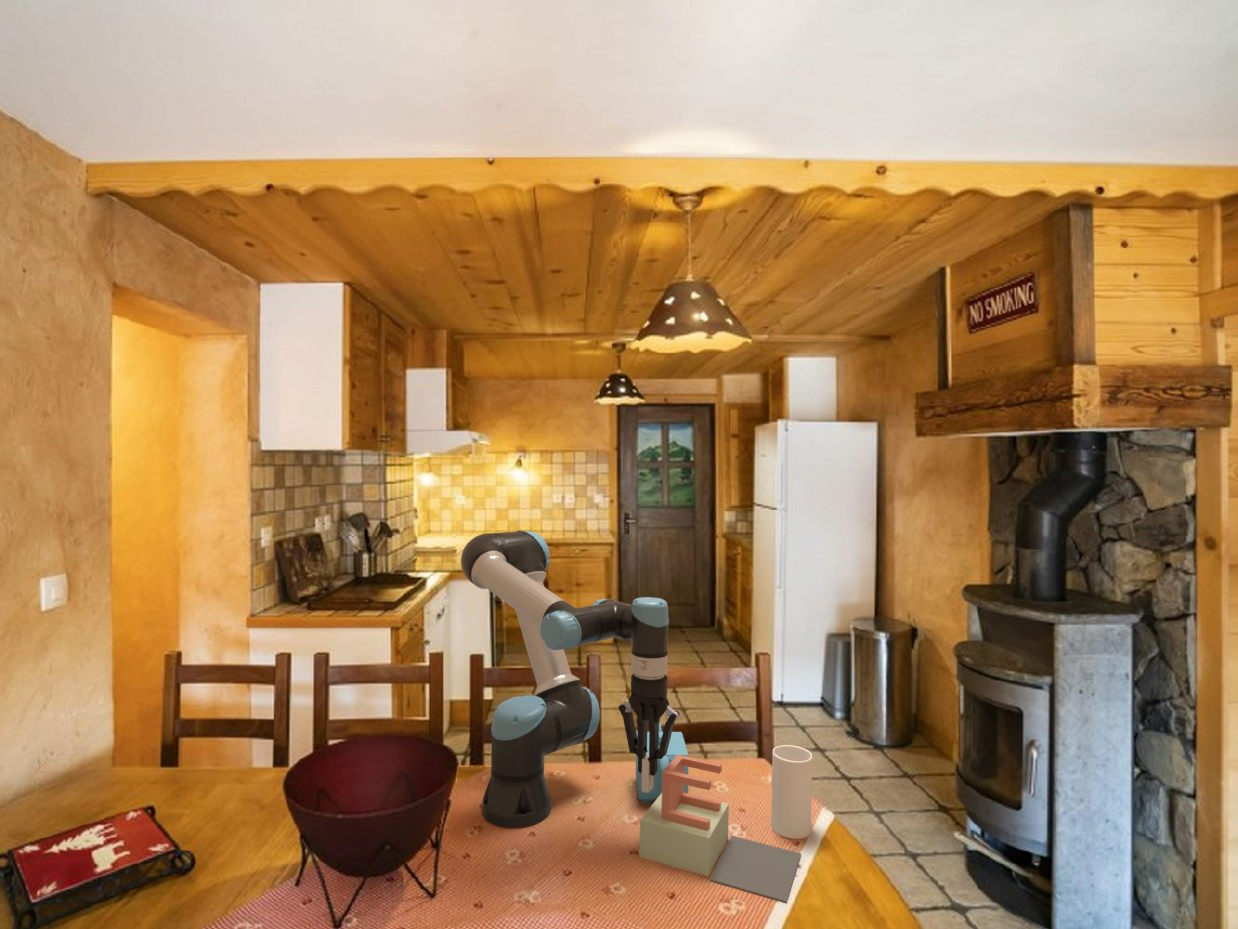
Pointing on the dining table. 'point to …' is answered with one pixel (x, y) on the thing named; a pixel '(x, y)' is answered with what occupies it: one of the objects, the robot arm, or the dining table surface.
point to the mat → (757, 868)
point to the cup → (791, 791)
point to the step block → (684, 838)
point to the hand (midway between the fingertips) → (647, 789)
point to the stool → (675, 793)
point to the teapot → (662, 766)
